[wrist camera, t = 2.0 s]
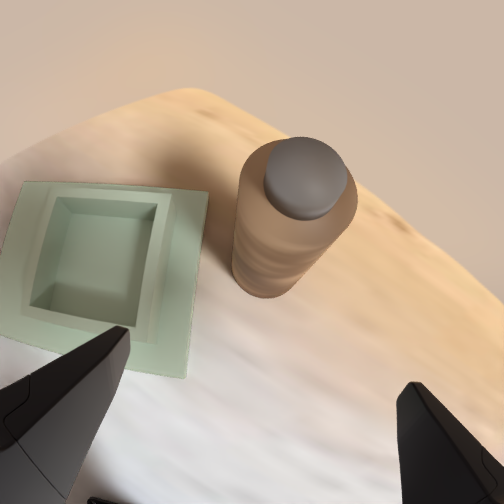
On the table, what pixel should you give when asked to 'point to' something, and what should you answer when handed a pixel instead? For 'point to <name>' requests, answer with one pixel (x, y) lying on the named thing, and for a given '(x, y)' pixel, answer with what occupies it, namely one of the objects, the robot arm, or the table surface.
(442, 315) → the table surface
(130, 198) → the sage tray
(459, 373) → the table surface
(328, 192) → the pepper mill
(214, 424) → the table surface
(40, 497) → the robot arm
